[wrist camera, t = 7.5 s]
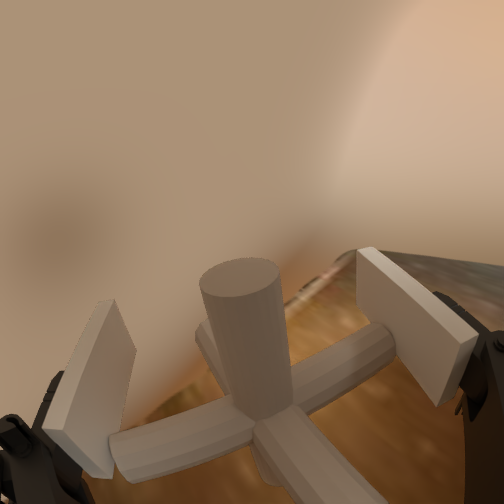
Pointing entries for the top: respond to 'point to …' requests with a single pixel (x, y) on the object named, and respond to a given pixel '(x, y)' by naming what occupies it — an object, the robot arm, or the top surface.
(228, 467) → the top surface
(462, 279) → the top surface
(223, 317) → the grey toy jack
